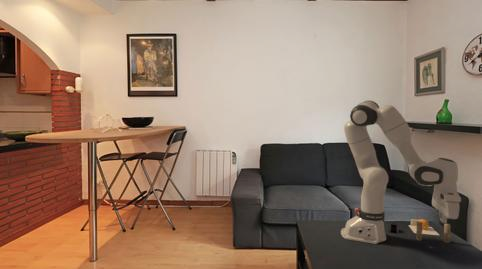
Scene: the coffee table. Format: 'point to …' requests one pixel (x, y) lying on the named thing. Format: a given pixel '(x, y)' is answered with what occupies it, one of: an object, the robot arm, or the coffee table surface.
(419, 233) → the post
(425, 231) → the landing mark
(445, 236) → the post
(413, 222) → the wall
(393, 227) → the dark slotted block
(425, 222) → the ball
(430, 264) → the coffee table surface
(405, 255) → the coffee table surface
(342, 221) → the coffee table surface
